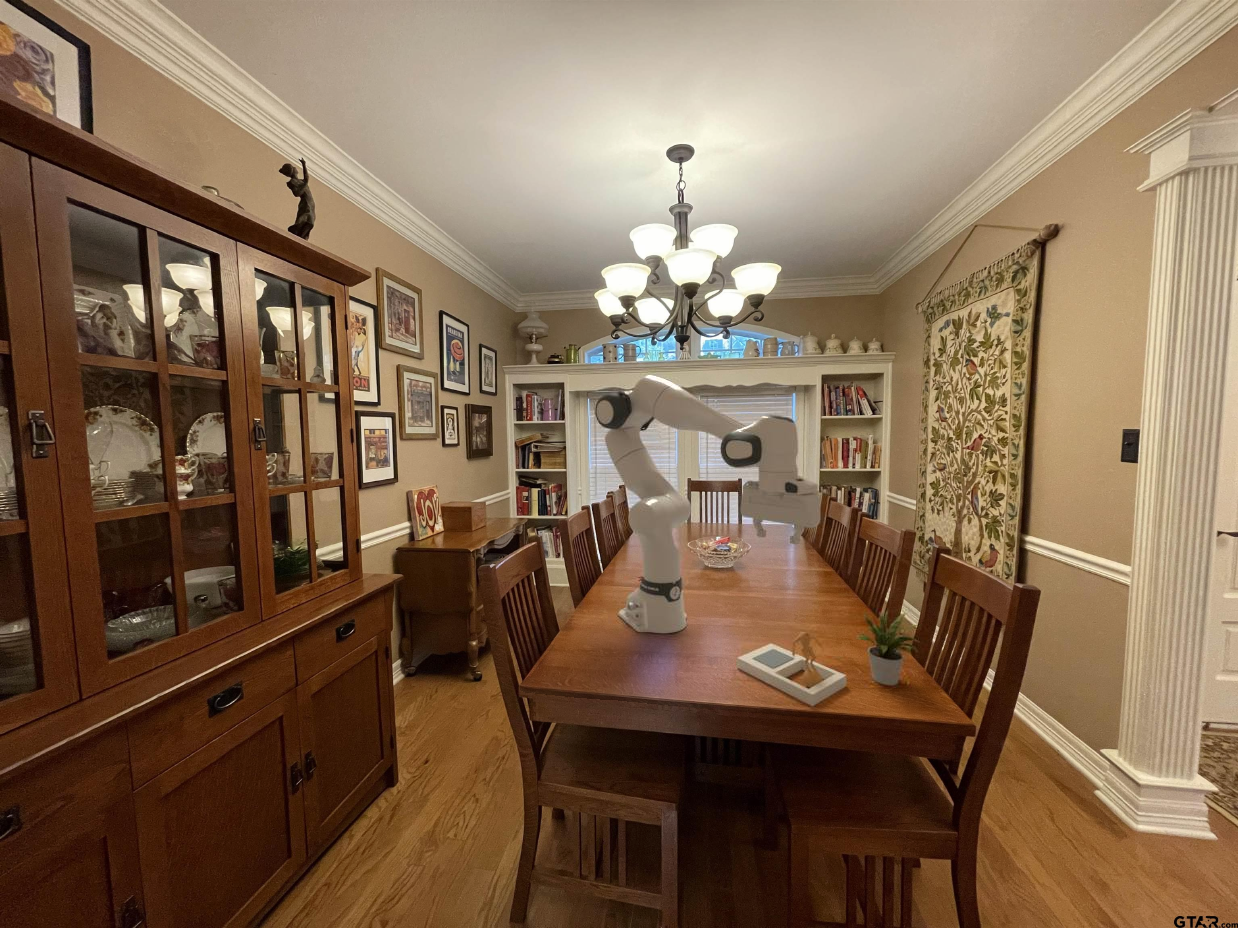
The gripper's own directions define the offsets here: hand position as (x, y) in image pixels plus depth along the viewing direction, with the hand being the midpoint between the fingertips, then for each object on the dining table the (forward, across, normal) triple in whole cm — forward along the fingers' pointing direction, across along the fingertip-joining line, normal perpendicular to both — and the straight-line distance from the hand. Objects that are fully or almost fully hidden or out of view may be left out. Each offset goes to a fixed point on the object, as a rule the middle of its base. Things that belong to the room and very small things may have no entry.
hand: (777, 540), depth 112 cm
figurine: (+31, +10, -2) cm, 33 cm away
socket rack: (+31, +5, -2) cm, 32 cm away
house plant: (+31, +18, +13) cm, 38 cm away
